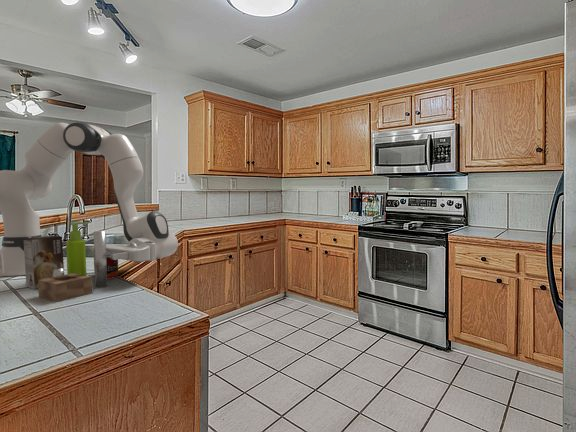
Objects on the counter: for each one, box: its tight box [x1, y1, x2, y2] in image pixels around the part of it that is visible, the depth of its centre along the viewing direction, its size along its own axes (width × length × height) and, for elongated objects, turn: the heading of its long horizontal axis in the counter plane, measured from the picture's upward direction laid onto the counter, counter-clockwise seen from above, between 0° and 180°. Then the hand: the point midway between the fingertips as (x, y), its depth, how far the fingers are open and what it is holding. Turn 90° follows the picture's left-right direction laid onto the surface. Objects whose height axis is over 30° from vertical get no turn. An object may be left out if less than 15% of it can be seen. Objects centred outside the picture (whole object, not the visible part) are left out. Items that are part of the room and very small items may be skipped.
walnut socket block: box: [38, 273, 93, 302], centre depth 103 cm, size 10×10×5 cm
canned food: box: [93, 257, 119, 280], centre depth 126 cm, size 8×8×11 cm
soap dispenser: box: [65, 221, 88, 276], centre depth 126 cm, size 6×7×20 cm
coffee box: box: [23, 235, 65, 290], centre depth 114 cm, size 9×6×16 cm
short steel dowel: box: [52, 267, 65, 277], centre depth 113 cm, size 3×3×6 cm
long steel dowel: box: [93, 230, 108, 288], centre depth 112 cm, size 3×3×18 cm
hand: (102, 255), depth 113 cm, fingers open, 8 cm apart
